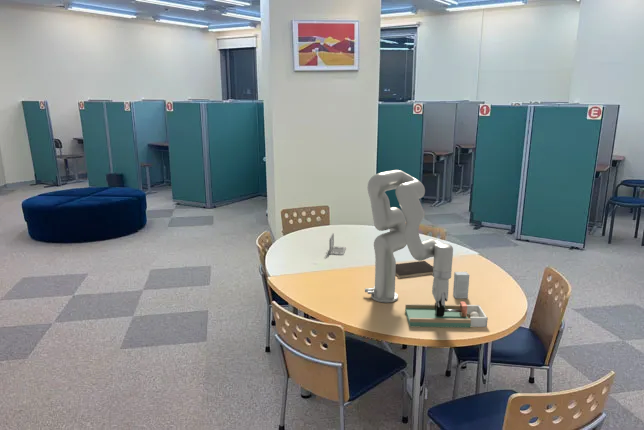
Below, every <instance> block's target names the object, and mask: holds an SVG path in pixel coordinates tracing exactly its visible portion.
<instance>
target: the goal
mask: <svg viewBox="0 0 644 430" xmlns="http://www.w3.org/2000/svg"><path fill="white" fill-rule="evenodd" d="M466 305H467V315H470V314H471V313H472V312H477V313H478V314H479V317H469V319H471V327H472V328H473V327H477V328H478V327H479V328H482V327H484V328H486V327H488V320H489V319H488V317H487V315H486V313H485V312H484V310H483V308H482V307H481V305H480V304H466Z"/></svg>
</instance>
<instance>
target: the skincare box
mask: <svg viewBox="0 0 644 430" xmlns="http://www.w3.org/2000/svg"><path fill="white" fill-rule="evenodd" d="M469 286H470V274H469V273H468V272H467V271H454V273H453V289H452V296H453V297H454V299H468V298H469Z"/></svg>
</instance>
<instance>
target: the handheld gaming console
mask: <svg viewBox="0 0 644 430" xmlns="http://www.w3.org/2000/svg"><path fill="white" fill-rule="evenodd" d="M334 234H335V233H334V232H332V233H331V235H330V237H329V240H328V241H329V243H328V244H329V249H328V250H329V252H328V255H331V256H332V255H335V256H344V255H345V252H346V250H347V248H346V247H345V246H334V244H335V235H334Z"/></svg>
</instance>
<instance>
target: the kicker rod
mask: <svg viewBox="0 0 644 430" xmlns="http://www.w3.org/2000/svg"><path fill="white" fill-rule="evenodd" d="M440 300H441V299H440ZM440 303H441V302H440ZM459 305H460V309H445V311H444V312H459V313H460V315H461V316H462V317H468V314H467V305H468V304H467V303H466V301H459ZM437 306H438V301H436V305H435V314H436V312H437ZM436 316H440V315H437V314H436Z"/></svg>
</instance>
